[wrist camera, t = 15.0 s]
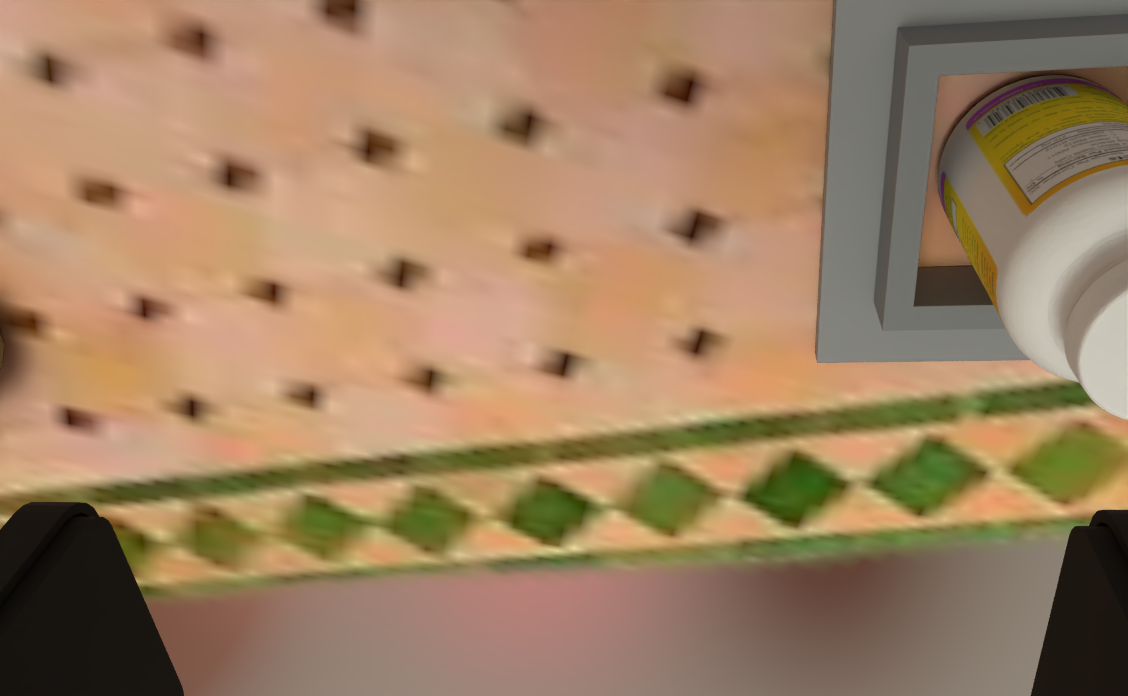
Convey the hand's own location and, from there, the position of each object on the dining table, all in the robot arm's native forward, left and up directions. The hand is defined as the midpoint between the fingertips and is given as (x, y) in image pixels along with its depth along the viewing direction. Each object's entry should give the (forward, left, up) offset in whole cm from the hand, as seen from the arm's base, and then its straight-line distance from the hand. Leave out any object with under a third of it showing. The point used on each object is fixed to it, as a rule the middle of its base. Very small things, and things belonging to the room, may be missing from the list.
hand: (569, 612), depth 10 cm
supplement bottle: (+7, +13, -28) cm, 32 cm away
